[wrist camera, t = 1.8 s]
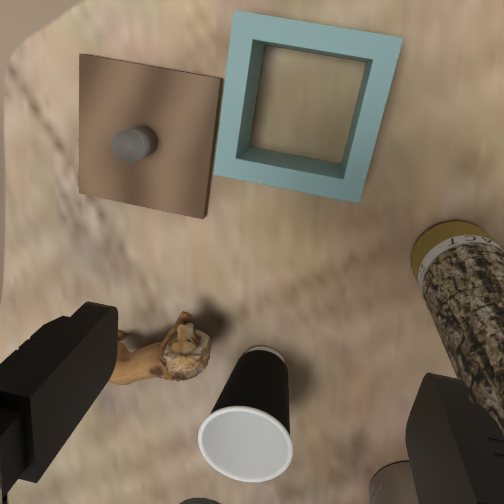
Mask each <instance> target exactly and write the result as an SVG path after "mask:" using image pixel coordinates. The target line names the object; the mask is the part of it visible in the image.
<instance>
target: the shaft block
mask: <svg viewBox="0 0 504 504" xmlns="http://www.w3.org/2000/svg"><path fill="white" fill-rule="evenodd" d="M222 83H223V79H222V78H216V77H210V76H205V75H199V74H194V73H188V72H182V71H177V70H171V69H166V68H160V67H154V66H149V65H143V64H137V63H132V62H126V61H121V60H115V59H109V58H104V57H98V56H93V55H87V54H79V193H80V194H85V195H90V196H94V197H99V198H104V199H109V200H114V201H118V202H123V203H128V204H133V205H138V206H142V207H147V208H152V209H157V210H162V211H166V212H171V213H176V214H181V215H185V216H190V217H195V218H200V219H204V218H205V217H206V213H207V205H208V196H209V188H210V180H211V172H212V164H213V156H214V148H215V140H216V132H217V124H218V116H219V108H220V99H221V91H222Z"/></svg>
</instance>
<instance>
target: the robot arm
mask: <svg viewBox="0 0 504 504" xmlns="http://www.w3.org/2000/svg"><path fill="white" fill-rule="evenodd" d="M117 348H118V310H117V308H116V307H113V306H108V305H103V304H99V303H94V302H89V301H88V302H86V303H84V304H83V305H82V306H81V307H80V308H79V309H78V310H77V311H76V312H75V313H74V314H73V315H72V316H71V317H67V316H61V317H59V318H57V319H55V320H53V321H51V322H48V323H46V324H44V325H43V326H42V327H41V328H40V329H38V330H37V331H36V332H35V333H34V334H33V335H32V336H31V337H30V339H29V340H28V339H27V340H26V341H25V342H24V343H23V344H22V345H21V346H20V347H19V349H18V350H15V351H14V352H13V353H12V354H11V355H10V356H8V357H7V358H6V359H5V360H4V361H3V362H2V363H1V364H0V504H9V499H8V492H9V490H10V489H11V488H12V486H13V485H14V484H15V482H16V481H17V480H18V479H22V480H26V481H30V482H34V483H37V482H38V481H39V479H40V478H41V477H42V475H43V474H44V472H45V471H46V469H47V468H48V467H49V465H50V464H51V462H52V461H53V459H54V458H55V457H56V455H57V454H58V452H59V451H60V449H61V448H62V447H63V445H64V444H65V442H66V441H67V439H68V438H69V437H70V435H71V434H72V432H73V431H74V429H75V428H76V426H77V425H78V424H79V422H80V421H81V419H82V418H83V416H84V415H85V414H86V412H87V411H88V409H89V408H90V406H91V405H92V404H93V402H94V401H95V399H96V398H97V396H98V395H99V394H100V392H101V391H102V389H103V388H104V386H105V385H106V384H107V382H108V381H109V379H110V378H111V376H112V374H113V371H114V368H115V365H116V361H117ZM405 438H406V448H407V452H408V457H409V461H410V462H401V463H396V464H392V465H390V466H387V467H385V468H383V469H382V470H380V471H379V472H378V473H377V474H376V475H375V476H374V477H373V479H372V481H371V483H370V487H369V493H370V504H504V435H503V433H502V431H501V429H500V427H499V425H498V423H497V422H496V421H495V420H494V418H493V417H492V416H491V415H490V414H489V413H488V412H487V411H486V410H485V409H484V408H483V407H482V406H481V405H479V404H474V403H471V400H470V398H469V396H468V394H467V391H466V389H465V387H464V385H463V383H462V381H461V380H460V379H456V378H451V377H446V376H442V375H437V374H432V373H427V374H426V375H425V376H424V378H423V380H422V383H421V385H420V388H419V391H418V394H417V396H416V399H415V402H414V404H413V407H412V410H411V412H410V415H409V418H408V421H407V426H406V437H405Z"/></svg>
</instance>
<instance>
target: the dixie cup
mask: <svg viewBox="0 0 504 504" xmlns="http://www.w3.org/2000/svg"><path fill="white" fill-rule="evenodd" d="M198 443H199V447H200V450H201V453H202V454H203V456H204V458H205V459H206V460H207V462H208V463H209V464H210V465H211V466H212V467H213V468H214V469H216V470H217V471H219V472H220V473H222V474H223V475H225V476H227V477H230V478H232V479H235V480H239V481H244V482H262V481H267V480H270V479H273V478H275V477H277V476H279V475H280V474H282V473H283V472H284V471H285V470H286V469H287V467H288V466H289V464H290V462H291V460H292V457H293V444H292V440H291V437H290V423H289V388H288V370H287V367H286V364H285V361H284V359H283V357H282V356H281V355H280V354H279V353H278V352H277V351H275V350H274V349H272V348H269V347H263V346H258V347H254V348H251V349H249V350H248V351H246V352H245V353H244V355H242V356H241V357H240V359H239V360H238V362H237V364H236V366H235V368H234V369H233V371H232V373H231V375H230V377H229V379H228V381H227V383H226V385H225V387H224V389H223V391H222V393H221V394H220V396H219V398H218V400H217V402H216V404H215V406H214V408H213V410H212V412H211V414H210V415H209V416H208V417H207V418H206V419H205V420H204V421H203V423H202V425H201V426H200V429H199V433H198Z"/></svg>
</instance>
